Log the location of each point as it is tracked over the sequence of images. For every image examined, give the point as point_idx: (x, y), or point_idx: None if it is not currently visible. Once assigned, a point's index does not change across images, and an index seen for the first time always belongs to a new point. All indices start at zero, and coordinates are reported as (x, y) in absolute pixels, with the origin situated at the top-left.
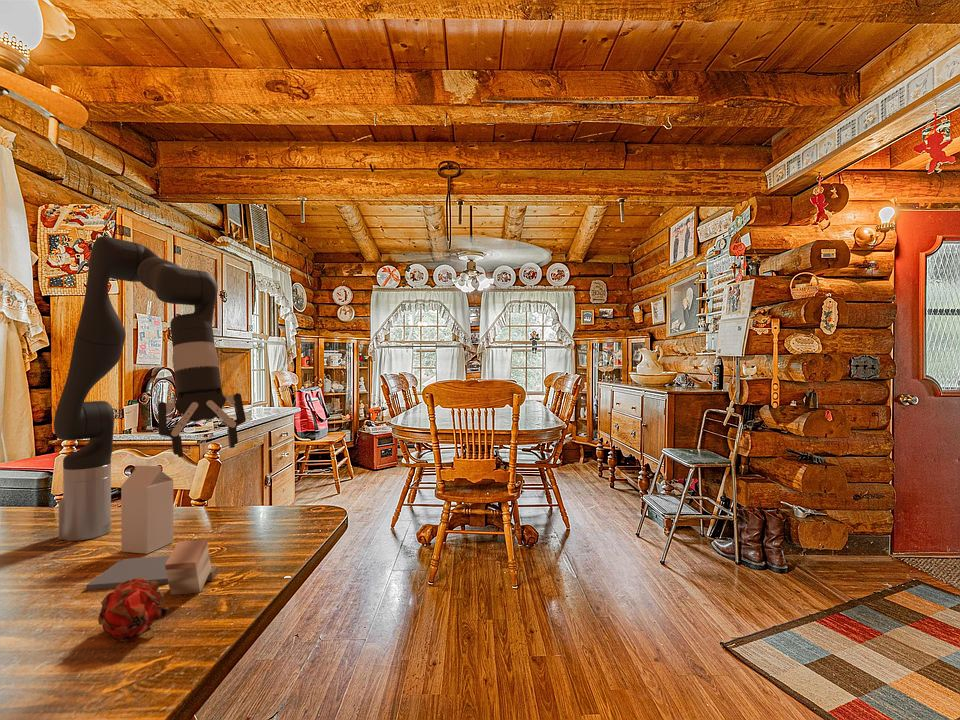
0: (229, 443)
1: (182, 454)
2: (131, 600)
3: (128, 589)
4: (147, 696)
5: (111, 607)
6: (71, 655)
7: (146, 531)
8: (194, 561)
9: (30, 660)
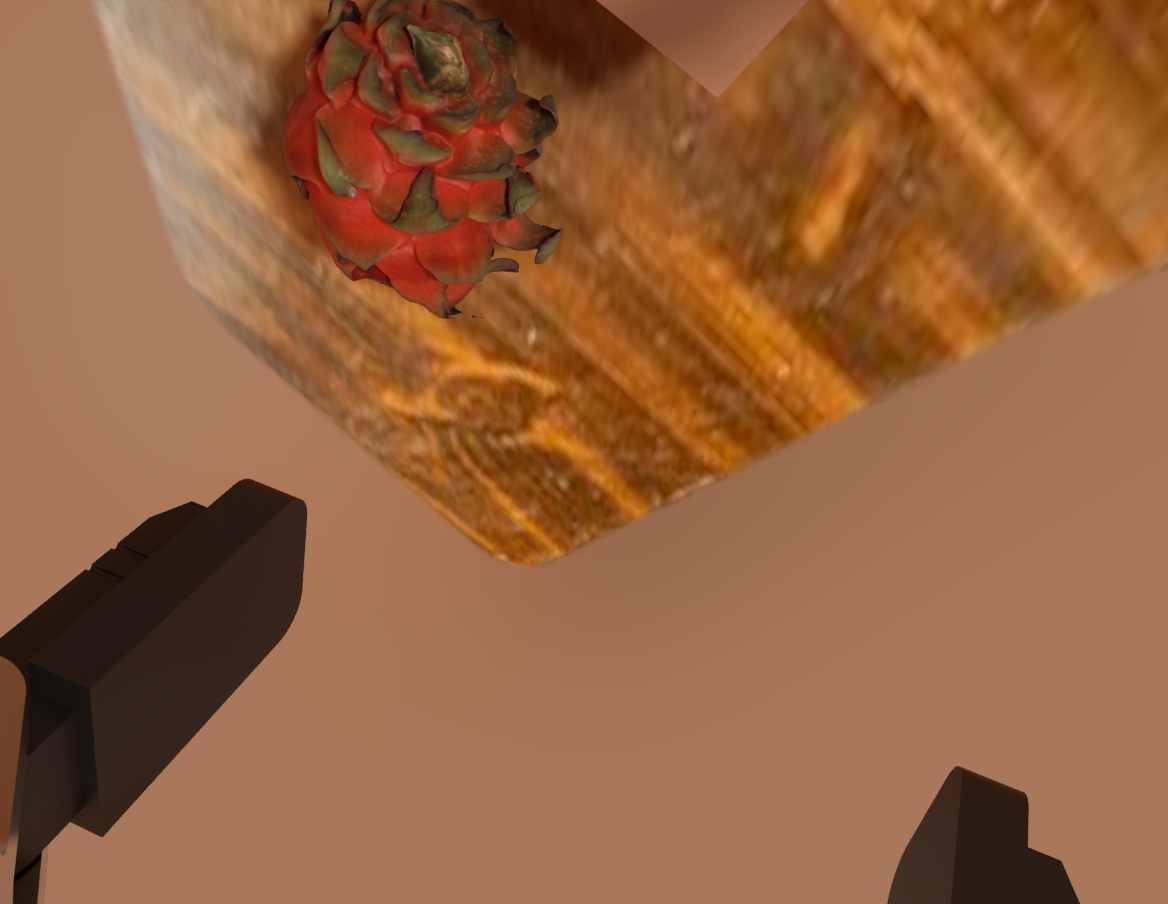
0: (927, 865)
1: (278, 630)
2: (388, 269)
3: (358, 264)
4: (475, 498)
5: (324, 238)
6: (278, 119)
7: None
8: (716, 88)
9: (156, 35)
